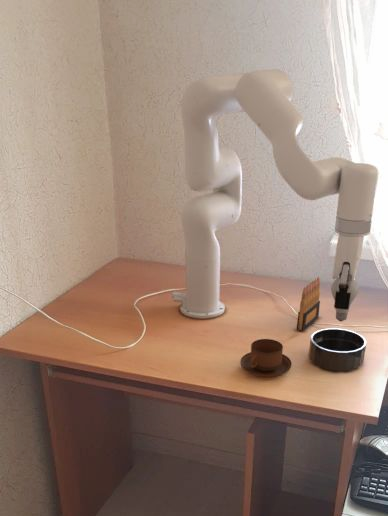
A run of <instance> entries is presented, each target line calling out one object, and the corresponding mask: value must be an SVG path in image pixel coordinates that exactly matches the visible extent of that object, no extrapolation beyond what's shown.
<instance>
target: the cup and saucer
mask: <svg viewBox="0 0 388 516" xmlns="http://www.w3.org/2000/svg"><path fill="white" fill-rule="evenodd" d="M283 350H284V345H283V344H282V343H281V342H280V341H278V340H275V339H270V338H260V339H256V340H254V341H252V343H251V345H250V352H247V353H245V354H244V355H243V356H242V357H241V358H240V361H239V362H240V365H241V367H242V369H243V370H244V371H246V372H247V373H249V375H250V374H251V375H253V376H256V377H261V378H273V377H278V376H282V375H284V374H286V373H287V372H289V371H290V369H291V368H292V360H291V358H290V357H289V356H288V355H286V354H284V353H283Z"/></svg>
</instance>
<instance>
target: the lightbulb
mask: <svg viewBox="0 0 388 516" xmlns="http://www.w3.org/2000/svg"><path fill="white" fill-rule="evenodd" d="M338 279H339V276H338V278H335V279H334V280H333V282H332V284H331V288H330V290H331V292H330V293H331V295H332V298H333V300H334V301H335V296H336V291H337V286H338ZM347 279H350V276H347ZM346 284H348V282H347V283H346ZM359 291H360V286H359V284H358V281H357V280H356V278H355V279H354V280H353V281H351V286H350V292H351V295H350V302H349V308H348V310H345V309H337V308H334V309H335V319H336V320H337V321H338V322H344V321H346V320H347V319H348V313H349V312H350V307H351V305H352V303H353V301H354V300H355V299H356V297H357V296H358V294H359Z"/></svg>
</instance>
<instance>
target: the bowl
mask: <svg viewBox="0 0 388 516" xmlns="http://www.w3.org/2000/svg"><path fill="white" fill-rule="evenodd" d="M366 348H367V340H366V338H365V337H364V336H363V335H362V334H359V333H357V332H356V331H353V330H349V329H344V328H339V327H338V328H335V327H334V328H331V327H330V328H323V329H318V330H316V331H314V332H313V333H312V334H311V335H310V339H309V348H308V358H309V360H310V361H311V362H312V364H313V365H315V367H317V368H319V369H321V370H324V371H328V372H332V373H333V372H334V373H346V372H352V371H354V370H355V371H356V370H357V369H358V368H359V367H361V366H362V365H363V364H364V360H365V355H366V350H367V349H366Z"/></svg>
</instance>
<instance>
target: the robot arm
mask: <svg viewBox="0 0 388 516" xmlns="http://www.w3.org/2000/svg"><path fill="white" fill-rule="evenodd" d="M293 95H294V83H293V81H292V79H291V78H290V76H289V75H288V73H286V72H285V71H283V70H281V69H277V68H271V69H260V70H252V71H249V72H239V73H228V74H227V73H226V74H215V75H213V74H212V75H207V76H202V77H199V78H197V79H195V80H193V81H192V82H190V83H189V84H188V85H187V86H186V87H185V89H184V91H183V93H182V96H181V100H180V114H181V121H182V126H183V127H182V128H183V138H184V142H183V143H184V145H183V146H184V171H185V172H184V175H185V182H186V184H187V187H189V189H190V190H192V191H194V192H206V191H211V190H212V192H211V193H207V194H203V195H199V196H195V197H193V198H191V199H189V200H188V201H187V202H185V204H184V205H183V206H182V208H181V212H180V222H181V226H182V227H181V228H182V231H183V238H184V239H183V240H184V259H185V261H184V262H185V267H184V268H185V269H184V270H185V291H184V292H177V291H173V292H172V293H171V294H172V295H171V298H172V301H173V302H176V303H181V304H180V305H179V306H180V307H179V310H180V312H181V314H183V315H184V316H185V317H189V318H192V319H202V320H203V319H212V318H217V317H219V316H221V315H222V314H224V313H225V309H226V307H225V304H224V303H223V302H222V301H220V294H221V293H220V288H221V287H220V285H221V284H220V283H221V247H220V243H219V241H218V239H217V236H216V232H217V231H219V230H222V229H226V228H228V227H231V226H233V225H235V223H237V222H238V221H239V219H240V216H241V212H242V202H243V201H242V193H243V169H242V168H243V167H242V164H241V160H240V158H239V156H238V154H237V153H236V152H235V151H234V150H233V149H232V148H229V147H223V146H222V147H220V145H219V144H220V143H219V138H220V137H219V131H218V127H217V124H216V123H215V120H214V117H216V116H222V115H223V116H224V115H230V114H231V115H232V114H238V113H245V114H246V115H247V116H248V117H249V118H250V120H251V121H252V122H253V123H254V125H256V127H257V128H258V129H259V130H260V131H261V133H262V134H263V135H264V137H265V138H266V139H267V140H268V141H269V142H270V144H271V147H272V155H273V156H272V157H273V159H274V163H275V167H276V169H277V171H278V173H279V175H280V176H281V177H282V179H283V180H284V181H285V182H286V184H287V185H288V186H289V187H290V188H291V189H292V191H294V193H296V195H298V196H299V197H301V198H303V200H306V201H307V200H308V201H317V200H320V199H322V198H326V197H329V196H334V195H338V198H337V206H336V217H335V223H334V232H335V233H336V234H338V237H337V243H336V248H335V256H334V263H333V269H332V279H333V280H336V279H337V278H338V277H339V279H338V286H337V291H336V296H335V300H334V304H333V308H334V309H335V308H337V309H345V310H348V308H349V302H350V295H351V292H350V286H351V281H353V280H354V279H355V280H356V277H357V273H358V270H359V267H360V266H359V265H360V263H361V262H360V261H361V258H362V252H363V245H364V239H365V238H364V237H366V236H368V235H370V234H371V228H372V222H373V215H374V208H375V201H376V194H377V189H378V180H379V169H378V167H376V165H374V164H370V163H364V162H354V161H351V160H349V159H346V158H342V157H338V156H333V157H329V158H324V159H319V160H316V161H313V160H311V158H310V157H309V156H308V154H306V153H305V152H304V150H303V148H301V146H300V144H299V142H298V139H297V134H299V132H300V130H301V129H302V126H303V123H304V117H303V115H302V113H301V112H300V111H299V109H297V108H296V106H295V105H294V103H293V102H292V99H293ZM347 276H350V279H347ZM347 282H348V284H346V283H347ZM349 309H350V308H349Z"/></svg>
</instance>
